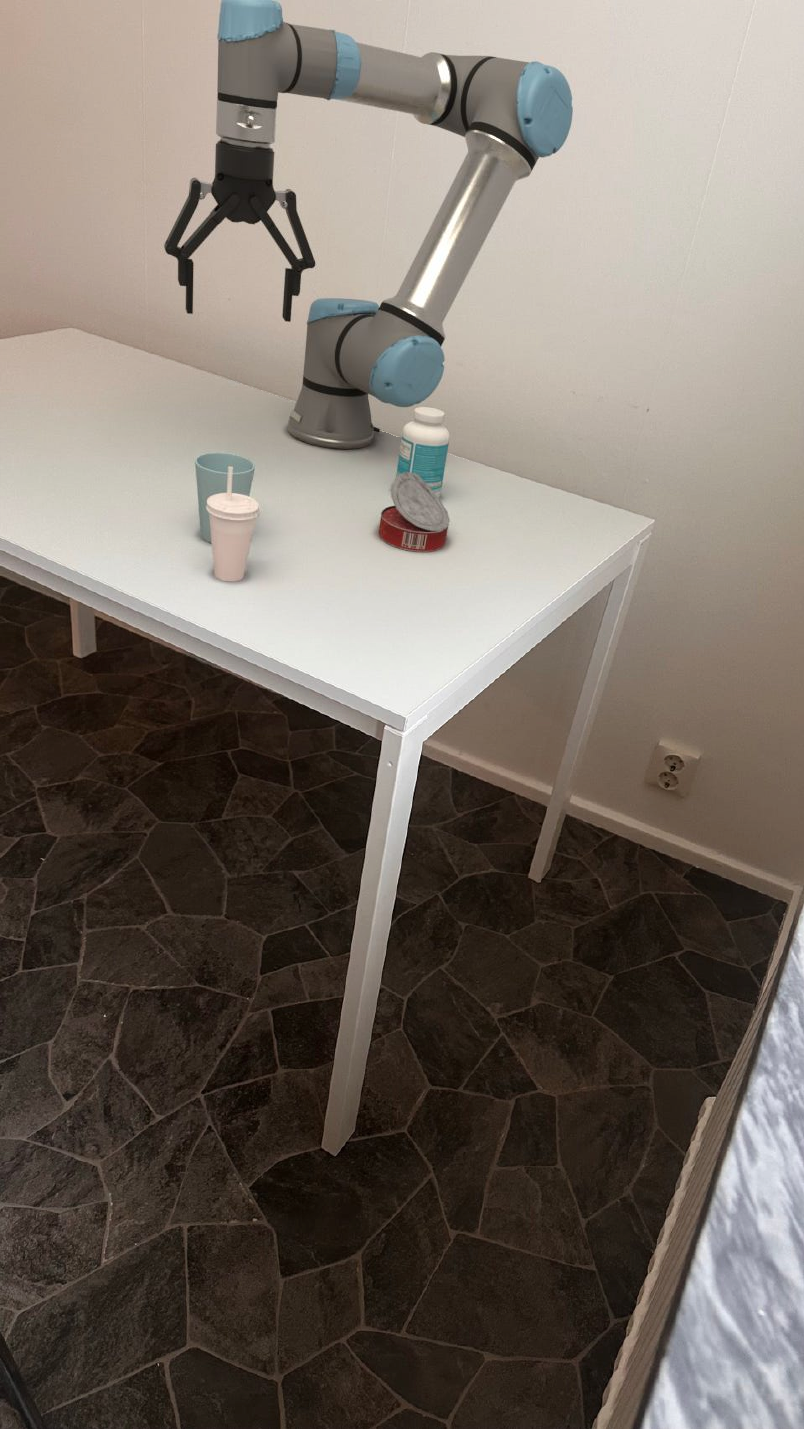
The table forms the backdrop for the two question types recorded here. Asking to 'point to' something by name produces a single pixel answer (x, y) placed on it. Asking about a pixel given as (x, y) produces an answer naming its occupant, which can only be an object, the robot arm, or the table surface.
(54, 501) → the table surface
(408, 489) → the canned food
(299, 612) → the table surface
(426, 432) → the pill bottle
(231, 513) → the smoothie
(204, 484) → the cup
